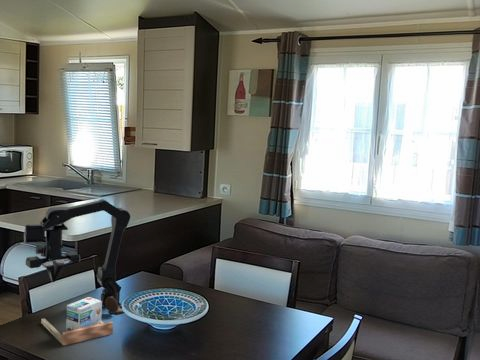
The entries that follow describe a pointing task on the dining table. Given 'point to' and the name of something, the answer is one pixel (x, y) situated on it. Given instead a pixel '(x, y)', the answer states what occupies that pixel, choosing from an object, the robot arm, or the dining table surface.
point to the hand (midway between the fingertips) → (53, 281)
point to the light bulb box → (83, 313)
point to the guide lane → (80, 332)
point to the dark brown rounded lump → (113, 305)
